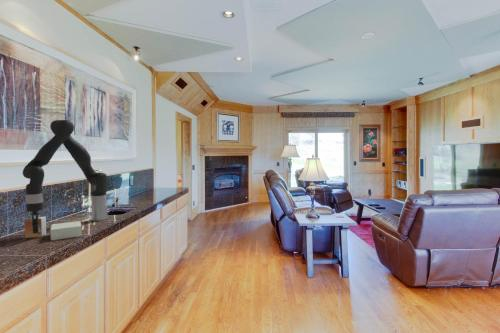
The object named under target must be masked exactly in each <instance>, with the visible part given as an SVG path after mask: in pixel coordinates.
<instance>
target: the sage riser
mask: <svg viewBox="0 0 500 333" xmlns="http://www.w3.org/2000/svg"><path fill="white" fill-rule="evenodd" d="M82 235H83V234H82V222H81V220H78V221H69V222H61V223H53V224H51V226H50V241H56V240H62V239H71V238H77V237H82Z"/></svg>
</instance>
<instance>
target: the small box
mask: <svg viewBox="0 0 500 333" xmlns="http://www.w3.org/2000/svg"><path fill="white" fill-rule="evenodd" d="M46 217H47V216H40V217H39V219H38V220H39V221H38V233H33V227H32V223H31V217H30V216H29V217H27V218H24V239H30V238H31V239H33V238H43V237H44V236H46V235H47V221H46V220H47V219H46ZM35 223H37V222H34V224H35Z"/></svg>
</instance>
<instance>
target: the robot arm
mask: <svg viewBox="0 0 500 333" xmlns="http://www.w3.org/2000/svg"><path fill="white" fill-rule="evenodd" d="M49 127H50V130H51V132H52V133H53V134H54V136H53V137H52V138H51V139H49V140H48V141H47V142H46V143H44V145H43V146H42V147H41V148H40V149H39V150H38V151H37V153H36V154H35V156H34V158H32V159H31V160H30V161H29V162H28V163H27V164H26V165H25V166H24V167H23V170H22V175H23V177H24V178H25V179H29V183H27V184H26V185H25V194H26V195H25V209H26V212H30V216H29V218H30V217H31V223H32V227H33V233H38V221H39V220H38V219H39V217H41V215H40V212H39V211H43V210H44V196H43V187H42V186H43V183H44V180H45V171H44V169H43V167H44V166H47V165H48V164H49V163H50V161H51V160H52V158H53V157H54V156H55V153H56V152H57V151H58V150H59V148H60V147H61V146H62V145H63V146H64V148H65V149H66V150H67V152H68V153H69V154H70V157H71V158H72V159H73V160H74V162H75V163H76V164H77V166H78V167H79V168H80V170H81V171H82V173H83V175H84V177H85V178H86V180H87V182H88V183H89V184H90V185H91V186H96V187H95V189H94V190H92V191H91V193H90V196H91V198H90V200H91V221H94V222H98V221H105V220H108V206H107V192H108V176H107V174H106V173H105V172H96V171H95V170H94V168H93V167H92V162H91V161H92V158H91V154H90V153H89V151H88V150H87V149H86V148H85V147H84V146H83V145H82V144H81V143H80V142H78V141H77V140H76V139H75V138H73V136H72V134H73V132H74V130H75V126H74V123H73V121H71V120H68V119H56V120H53V121H51V122H50V126H49ZM34 222H37V223H35V224H34Z"/></svg>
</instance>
